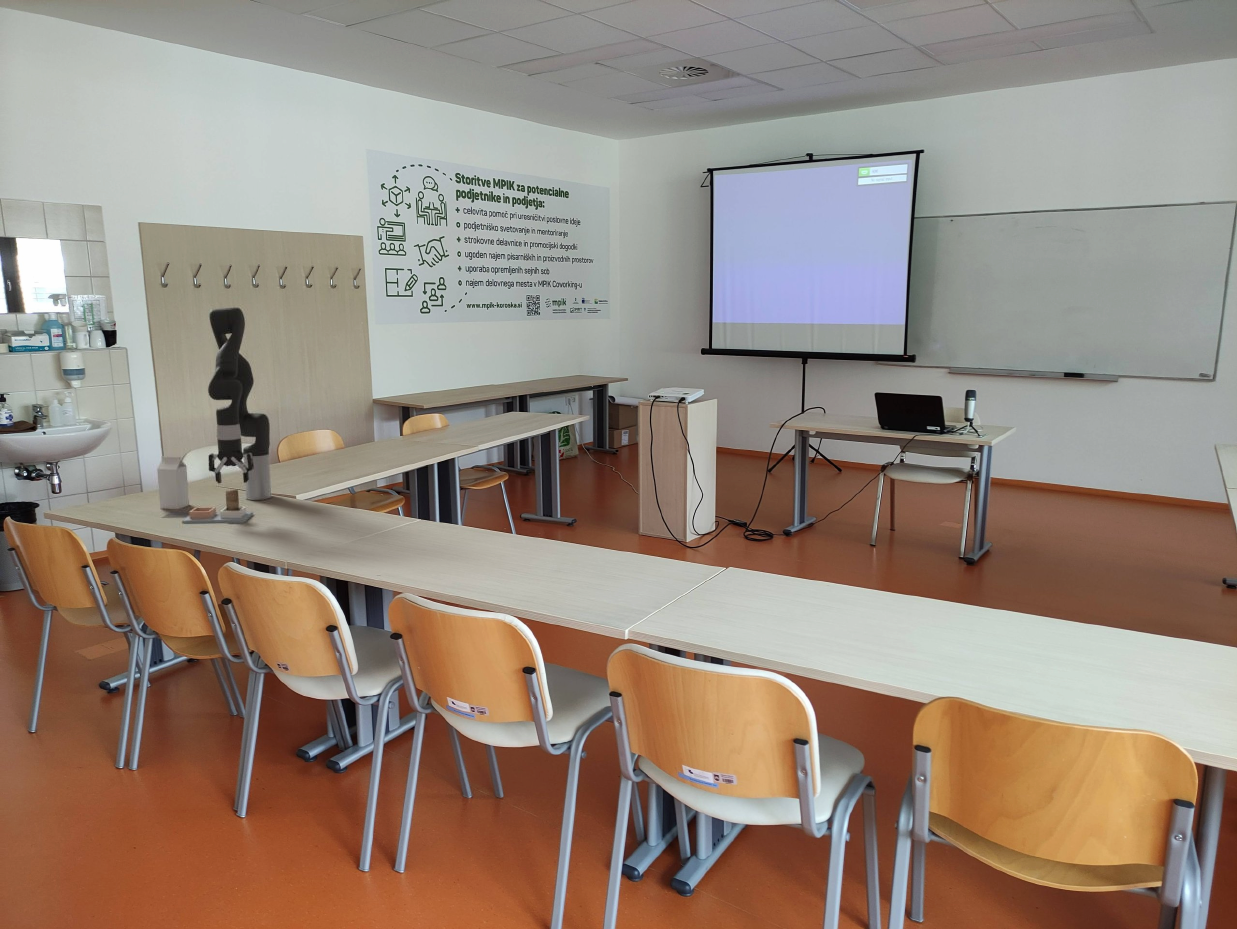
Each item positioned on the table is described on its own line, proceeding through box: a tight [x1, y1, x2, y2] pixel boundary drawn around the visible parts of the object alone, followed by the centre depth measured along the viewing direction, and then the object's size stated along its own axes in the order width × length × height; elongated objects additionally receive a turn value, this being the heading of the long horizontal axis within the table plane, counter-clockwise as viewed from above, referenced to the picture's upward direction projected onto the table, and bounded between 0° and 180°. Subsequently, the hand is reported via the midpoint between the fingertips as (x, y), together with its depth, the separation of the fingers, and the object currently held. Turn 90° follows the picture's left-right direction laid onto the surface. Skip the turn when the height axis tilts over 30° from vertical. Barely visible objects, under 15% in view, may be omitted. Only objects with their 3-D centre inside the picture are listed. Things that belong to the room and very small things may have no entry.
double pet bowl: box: [181, 506, 254, 524], centre depth 298 cm, size 12×20×4 cm, turn 99°
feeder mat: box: [161, 510, 191, 519], centre depth 303 cm, size 9×9×1 cm
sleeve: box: [225, 489, 240, 511], centre depth 298 cm, size 4×4×9 cm
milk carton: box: [156, 456, 190, 510], centre depth 313 cm, size 7×7×19 cm
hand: (232, 482), depth 297 cm, fingers open, 8 cm apart
